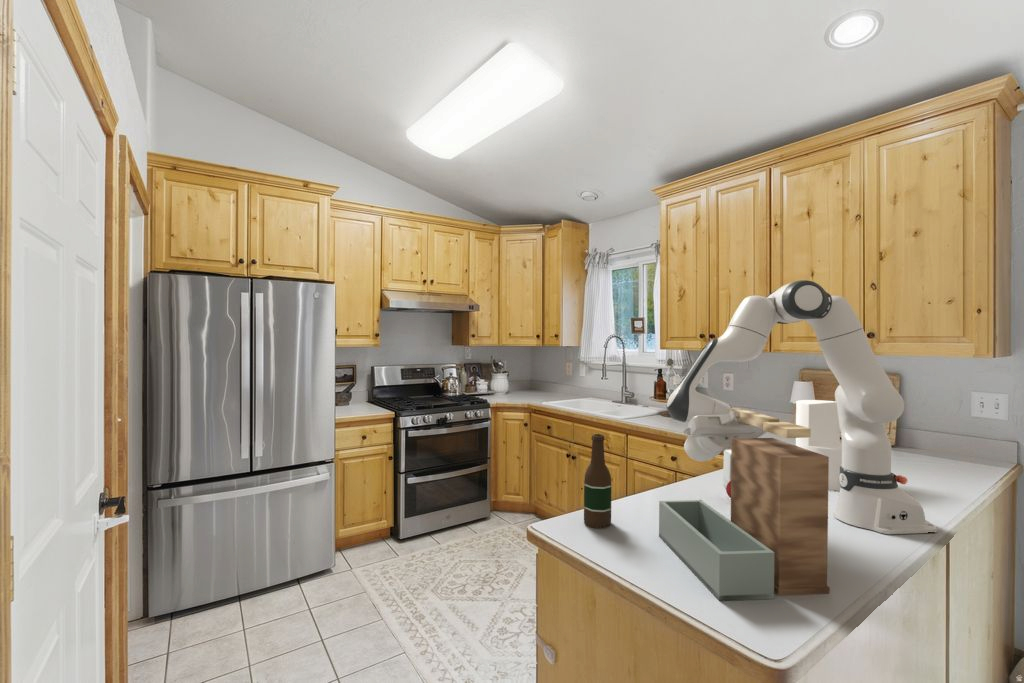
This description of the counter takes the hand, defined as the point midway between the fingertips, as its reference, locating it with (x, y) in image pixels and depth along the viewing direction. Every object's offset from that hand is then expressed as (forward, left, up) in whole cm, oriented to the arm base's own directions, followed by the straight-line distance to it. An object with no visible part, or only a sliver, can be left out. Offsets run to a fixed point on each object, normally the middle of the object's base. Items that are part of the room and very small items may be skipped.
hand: (743, 413), depth 116 cm
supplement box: (-15, -45, -32) cm, 58 cm away
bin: (+11, +10, -32) cm, 35 cm away
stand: (-2, +13, -32) cm, 35 cm away
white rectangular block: (-48, -56, -32) cm, 81 cm away
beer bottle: (+34, -10, -32) cm, 48 cm away
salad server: (-1, +8, -2) cm, 8 cm away
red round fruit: (-10, -33, -32) cm, 47 cm away
